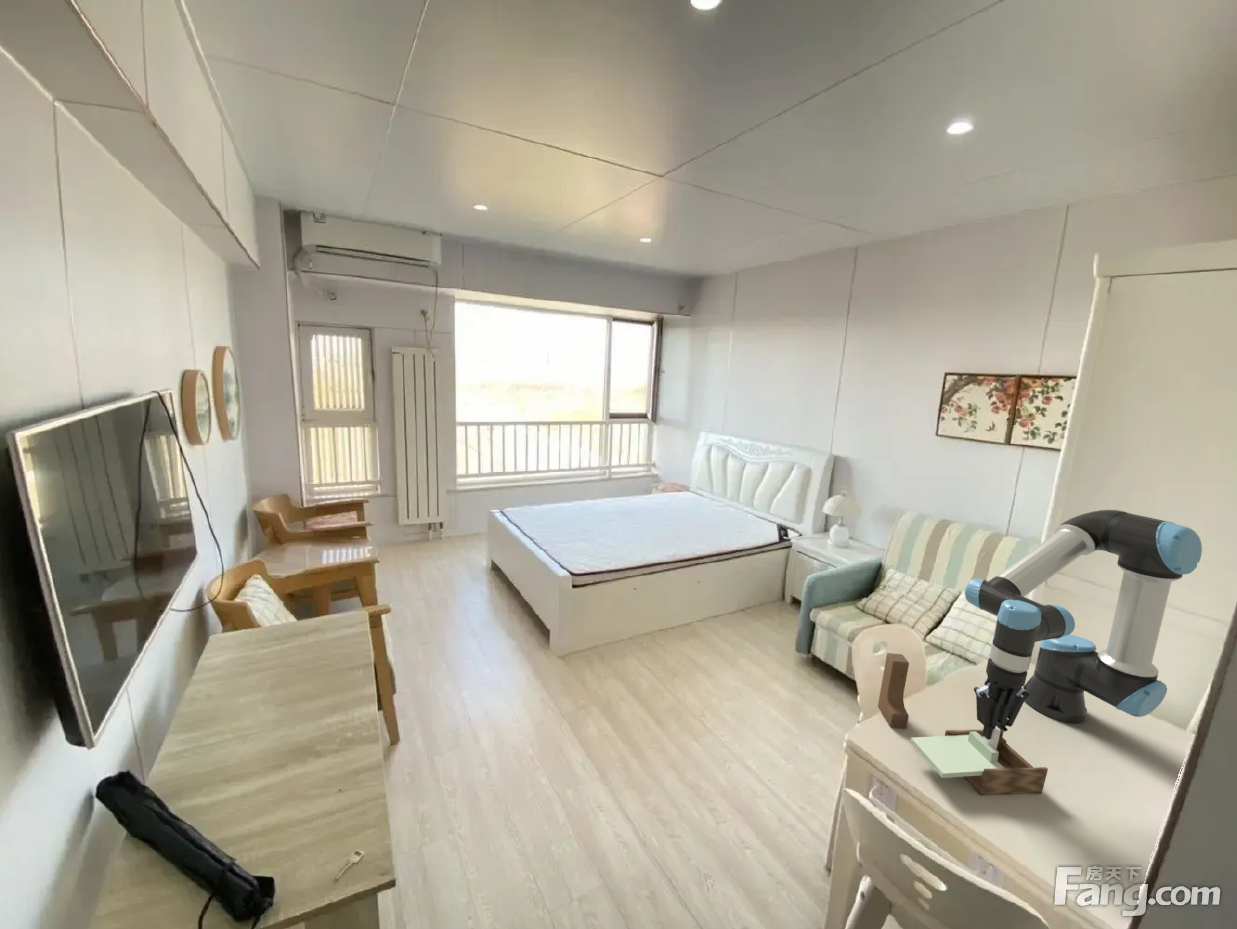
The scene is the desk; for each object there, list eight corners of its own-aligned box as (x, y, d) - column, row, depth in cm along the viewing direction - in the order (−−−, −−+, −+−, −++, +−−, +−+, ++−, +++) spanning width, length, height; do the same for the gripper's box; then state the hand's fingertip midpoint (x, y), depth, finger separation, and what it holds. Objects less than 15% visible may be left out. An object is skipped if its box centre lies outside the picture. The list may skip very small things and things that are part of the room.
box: (997, 752, 132) (1002, 729, 130) (1041, 793, 119) (1048, 769, 118) (941, 753, 130) (945, 730, 129) (980, 795, 118) (985, 770, 116)
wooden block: (906, 729, 138) (917, 672, 135) (890, 727, 139) (900, 670, 135) (892, 708, 147) (902, 653, 144) (877, 706, 148) (886, 652, 144)
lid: (968, 738, 129) (970, 725, 128) (1005, 773, 118) (1007, 759, 117) (910, 741, 127) (912, 728, 127) (942, 777, 116) (944, 763, 116)
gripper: (1019, 655, 123) (999, 737, 127) (970, 655, 121) (952, 738, 126) (1047, 673, 115) (1025, 760, 120) (995, 673, 114) (976, 761, 119)
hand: (988, 748), depth 123 cm, fingers closed
